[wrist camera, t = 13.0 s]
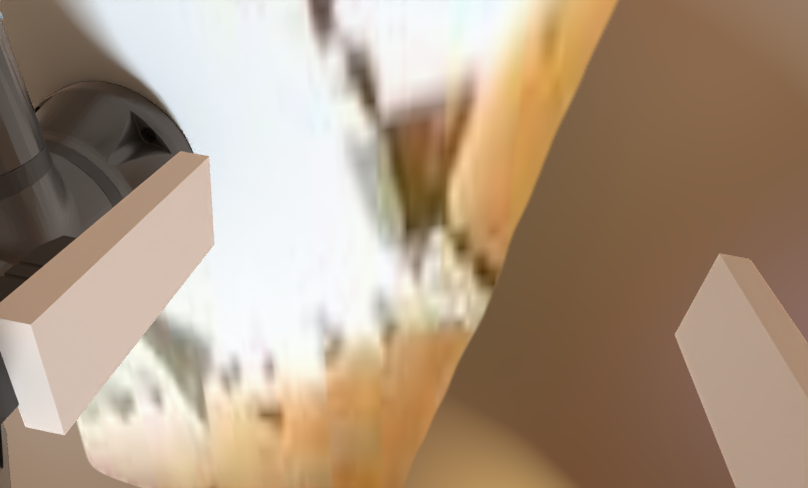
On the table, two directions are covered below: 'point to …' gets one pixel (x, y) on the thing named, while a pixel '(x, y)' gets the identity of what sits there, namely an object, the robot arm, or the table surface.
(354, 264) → the table surface
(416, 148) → the table surface
